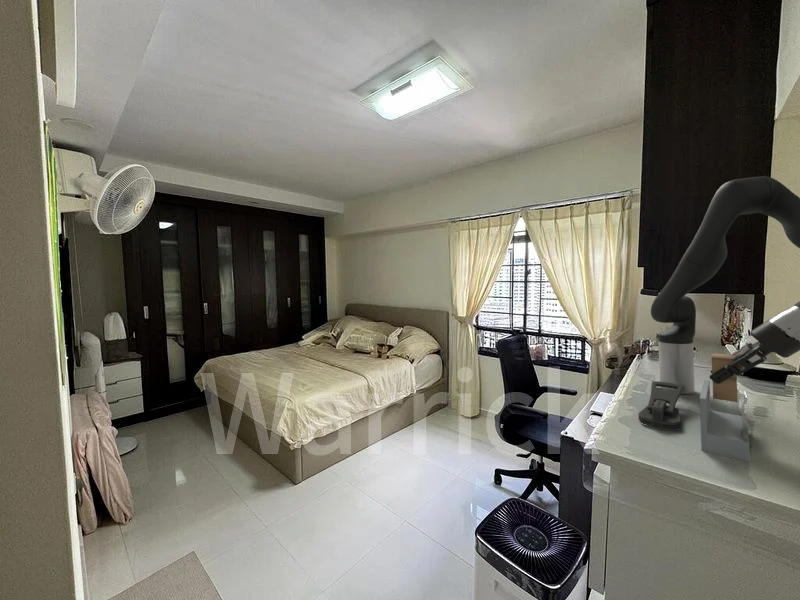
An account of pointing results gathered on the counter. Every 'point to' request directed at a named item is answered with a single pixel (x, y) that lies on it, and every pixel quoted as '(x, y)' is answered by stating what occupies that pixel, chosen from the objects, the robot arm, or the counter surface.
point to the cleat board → (722, 430)
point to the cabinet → (729, 386)
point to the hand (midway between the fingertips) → (713, 377)
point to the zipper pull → (662, 407)
